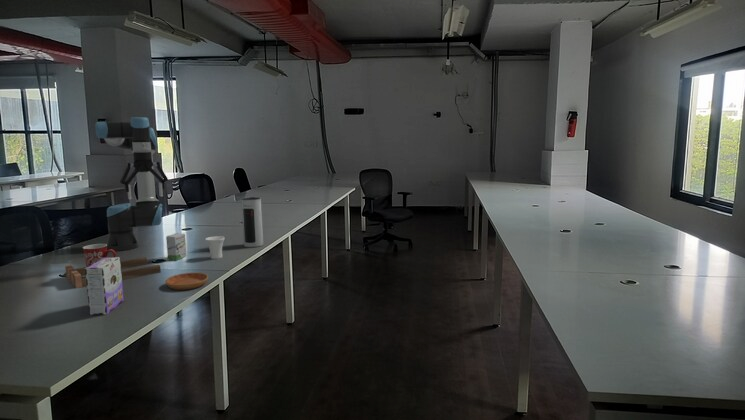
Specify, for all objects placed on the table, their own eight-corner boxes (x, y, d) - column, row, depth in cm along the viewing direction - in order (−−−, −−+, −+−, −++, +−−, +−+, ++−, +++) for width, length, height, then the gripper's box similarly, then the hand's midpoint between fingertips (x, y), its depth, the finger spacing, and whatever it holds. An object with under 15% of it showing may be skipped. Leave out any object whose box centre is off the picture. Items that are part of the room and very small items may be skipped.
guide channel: (66, 277, 202) (65, 265, 202) (145, 263, 224) (145, 252, 223) (76, 288, 188) (75, 275, 187) (160, 272, 209) (159, 261, 208)
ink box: (176, 260, 228) (174, 236, 226) (167, 260, 229) (165, 236, 227) (187, 256, 236) (185, 233, 234) (178, 256, 237) (176, 232, 235)
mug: (81, 280, 198) (77, 248, 196) (92, 274, 207) (89, 243, 204) (112, 280, 198) (109, 248, 196) (122, 273, 207) (119, 243, 205)
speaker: (239, 246, 256) (237, 198, 252) (251, 242, 266) (249, 196, 262) (255, 248, 252) (253, 199, 248) (267, 244, 262) (265, 196, 258)
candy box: (107, 301, 173) (103, 257, 170) (124, 300, 173) (120, 256, 171) (88, 315, 159) (83, 267, 157) (107, 314, 160) (102, 267, 157)
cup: (229, 257, 234) (228, 237, 233) (212, 260, 227) (211, 240, 226) (220, 254, 240) (219, 234, 239) (203, 257, 233) (201, 237, 232)
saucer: (182, 294, 181) (182, 286, 180) (157, 287, 189) (156, 280, 189) (217, 283, 194) (216, 276, 194) (191, 277, 202) (191, 270, 202)
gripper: (113, 152, 207) (118, 201, 211) (173, 151, 223) (176, 196, 227) (109, 152, 213) (114, 199, 216) (167, 150, 229) (170, 194, 232)
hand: (145, 197), depth 221 cm, fingers open, 13 cm apart
